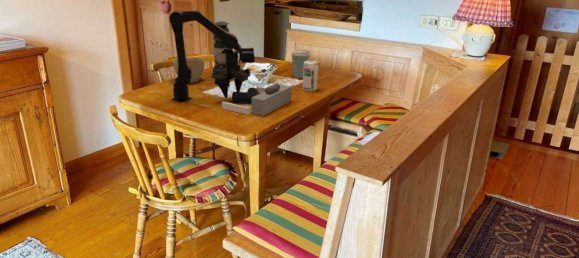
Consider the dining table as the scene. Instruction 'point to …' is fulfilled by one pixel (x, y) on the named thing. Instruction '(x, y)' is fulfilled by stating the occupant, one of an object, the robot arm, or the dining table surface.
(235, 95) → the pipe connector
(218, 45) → the lantern
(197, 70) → the planter bowl
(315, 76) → the syrup box
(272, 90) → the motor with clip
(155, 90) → the dining table surface
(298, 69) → the disposable coffee cup
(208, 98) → the dining table surface
